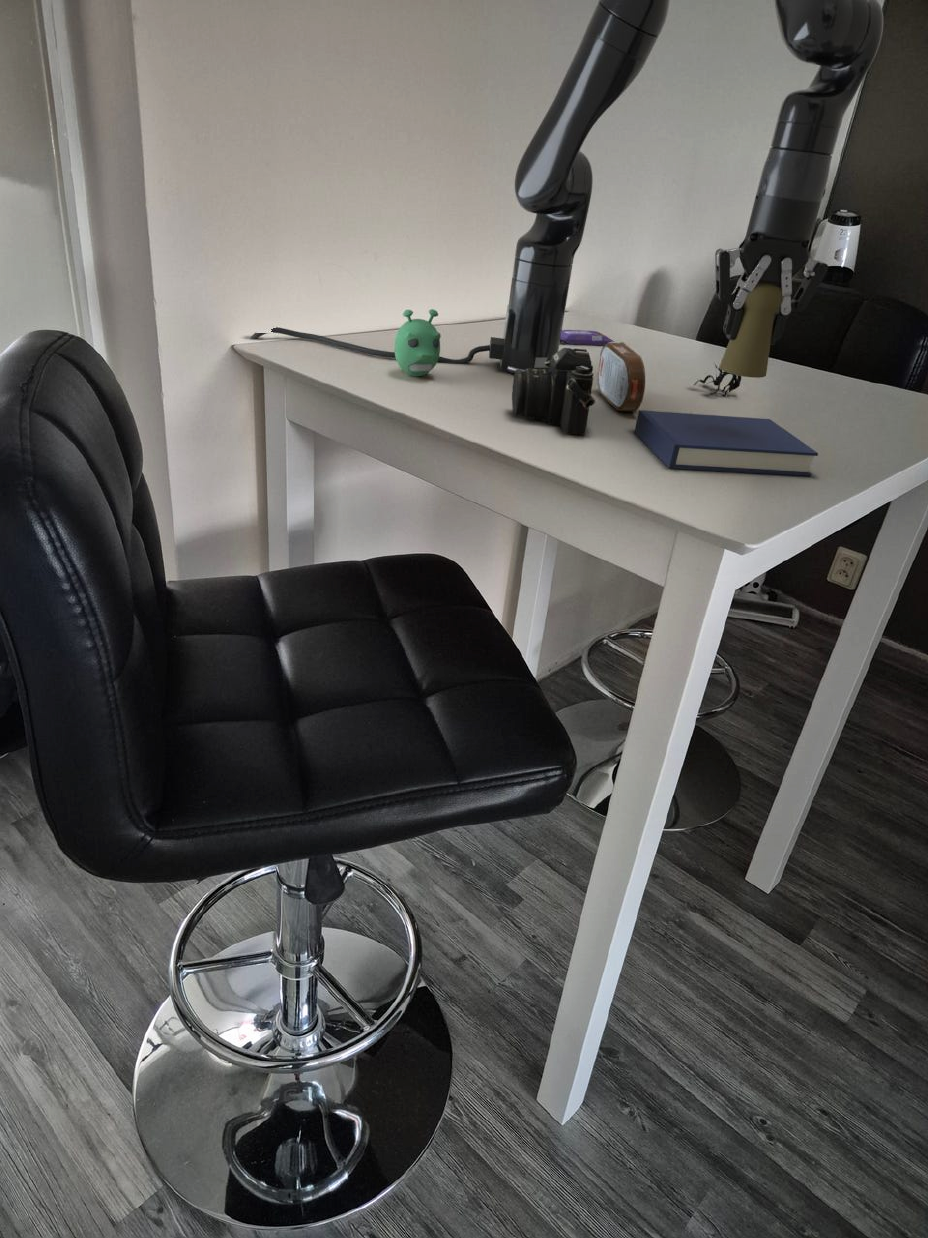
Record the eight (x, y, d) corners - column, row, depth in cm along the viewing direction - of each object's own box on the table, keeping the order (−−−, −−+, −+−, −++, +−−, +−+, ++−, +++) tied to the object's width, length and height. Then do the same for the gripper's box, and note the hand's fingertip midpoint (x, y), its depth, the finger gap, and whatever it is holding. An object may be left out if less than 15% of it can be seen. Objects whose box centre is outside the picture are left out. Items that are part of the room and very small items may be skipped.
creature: (694, 401, 146) (744, 398, 145) (694, 369, 144) (745, 365, 142) (692, 389, 153) (740, 387, 151) (692, 358, 151) (741, 355, 149)
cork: (739, 377, 111) (763, 286, 105) (709, 364, 116) (730, 276, 110) (776, 377, 113) (801, 287, 108) (745, 364, 118) (768, 278, 112)
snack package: (562, 334, 166) (551, 328, 170) (560, 344, 167) (550, 338, 171) (616, 336, 170) (604, 330, 174) (614, 346, 171) (602, 340, 175)
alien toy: (403, 383, 132) (408, 314, 127) (386, 369, 138) (390, 302, 133) (446, 383, 135) (453, 315, 130) (427, 369, 141) (433, 304, 136)
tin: (640, 419, 130) (652, 362, 126) (620, 418, 129) (632, 360, 125) (609, 389, 143) (619, 336, 138) (590, 388, 142) (600, 335, 138)
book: (668, 468, 112) (674, 444, 110) (633, 432, 124) (638, 409, 122) (810, 476, 116) (818, 453, 114) (763, 440, 128) (770, 418, 126)
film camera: (486, 398, 130) (495, 329, 125) (560, 399, 134) (572, 332, 129) (536, 440, 116) (548, 364, 111) (617, 439, 120) (633, 366, 115)
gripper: (837, 199, 108) (795, 341, 116) (722, 184, 107) (688, 328, 115) (860, 204, 101) (813, 354, 110) (738, 188, 100) (701, 340, 109)
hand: (749, 340), depth 112 cm, fingers closed on cork, 4 cm apart
